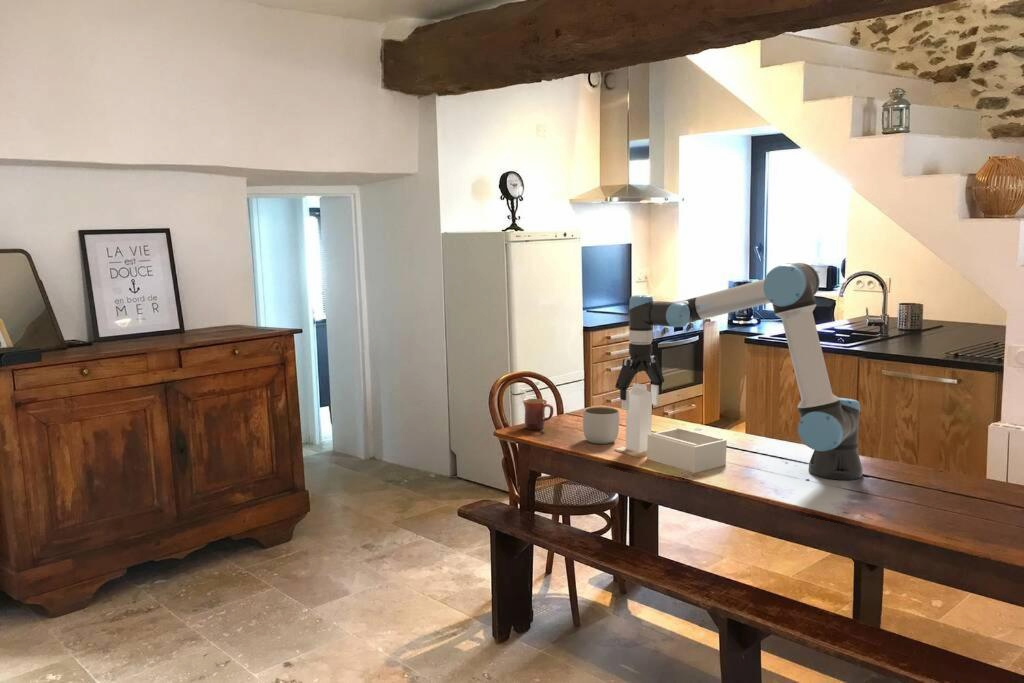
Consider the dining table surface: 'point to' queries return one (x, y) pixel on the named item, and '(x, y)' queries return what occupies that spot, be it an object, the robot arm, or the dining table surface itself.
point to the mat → (631, 452)
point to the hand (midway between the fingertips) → (640, 407)
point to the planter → (601, 424)
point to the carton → (686, 449)
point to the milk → (638, 418)
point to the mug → (536, 413)
